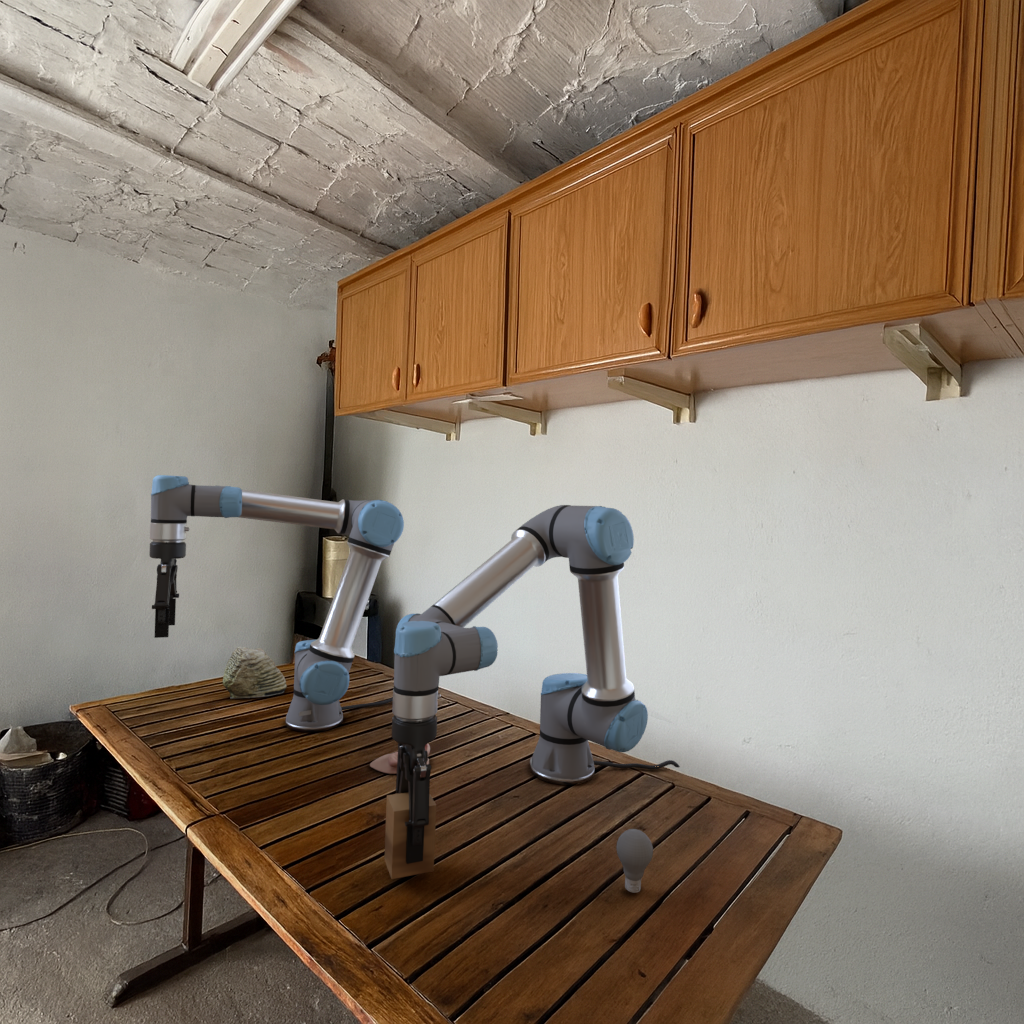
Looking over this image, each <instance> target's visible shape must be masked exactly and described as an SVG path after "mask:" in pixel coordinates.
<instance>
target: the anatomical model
mask: <svg viewBox="0 0 1024 1024" xmlns="http://www.w3.org/2000/svg"><path fill="white" fill-rule="evenodd" d="M426 750H427V753H428V756H429V755H430V751H431V745H430V744H429V743H427V744H426V745H425V751H426ZM397 760H398V751H395V752H392V753H387V754H384V755H382V756H380V757H377V758H376V759H374V760H373V761H371V762H370V763H369V767H370V768H372V769H373V770H375V771H378V772H380V773H384V774H389V775H390V774H391V775H392V774H395V775H397ZM427 764H430V759H429V758H428V761H427Z"/></svg>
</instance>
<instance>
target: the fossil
mask: <svg viewBox="0 0 1024 1024" xmlns="http://www.w3.org/2000/svg"><path fill="white" fill-rule="evenodd" d="M222 676H223V677H222V685H223V687H224V688H225V690H226V691H228V693H229V698H230V699H250V698H264V697H271V696H275V695H281V694H284V693H285V691H286V689H287V687H288V686H287V680H286V678H285V676H284V674H283V673H282V672H281V669H279V668H278V667H277V665H276V663H275V662H274V660H273V659H272V658H271V657H270V656H269V655H268V654H267V653H266V652H265V650H264V649H263V648H260V647H258V648H251V647H247V646H246V647H245V646H238V647H237V648H236V649H235V650H233V651H232V653H231V656H230V657H229V659H228V660H227V663H226V666H225V668H224V671H223V675H222Z"/></svg>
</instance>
